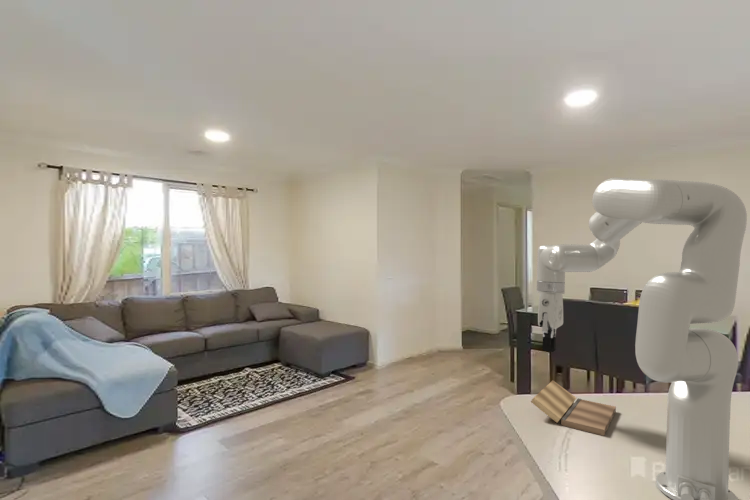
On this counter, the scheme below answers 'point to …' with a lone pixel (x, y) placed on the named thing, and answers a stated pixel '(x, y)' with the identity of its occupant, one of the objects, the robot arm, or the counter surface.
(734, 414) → the counter surface
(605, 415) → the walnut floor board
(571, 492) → the counter surface
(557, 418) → the oak plank
